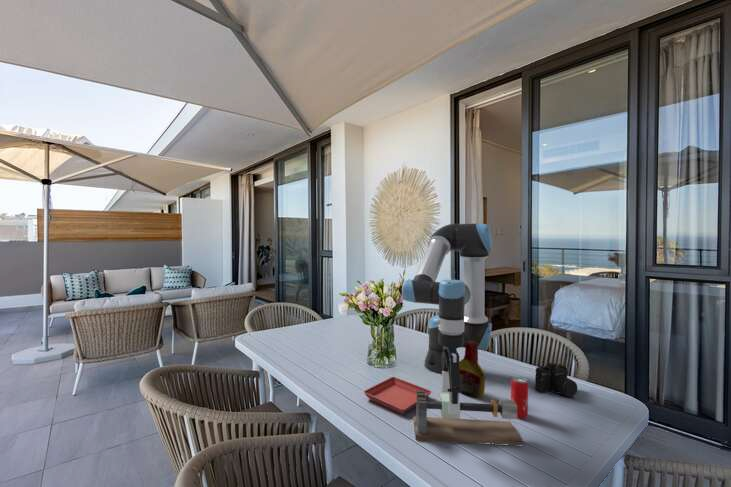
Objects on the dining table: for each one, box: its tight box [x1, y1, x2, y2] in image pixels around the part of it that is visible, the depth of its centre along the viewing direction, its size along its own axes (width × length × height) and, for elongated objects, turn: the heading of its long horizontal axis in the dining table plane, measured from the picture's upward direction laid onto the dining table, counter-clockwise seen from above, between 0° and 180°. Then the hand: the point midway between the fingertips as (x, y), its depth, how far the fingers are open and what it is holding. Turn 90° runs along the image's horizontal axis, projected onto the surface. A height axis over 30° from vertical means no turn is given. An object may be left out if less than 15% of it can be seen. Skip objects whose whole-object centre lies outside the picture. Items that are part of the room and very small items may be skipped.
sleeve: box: [439, 393, 461, 419], centre depth 102 cm, size 5×5×5 cm
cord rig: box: [413, 390, 524, 446], centre depth 101 cm, size 10×30×10 cm, turn 85°
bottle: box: [456, 341, 486, 398], centre depth 127 cm, size 12×6×20 cm, turn 37°
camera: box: [534, 362, 578, 398], centre depth 128 cm, size 14×11×10 cm
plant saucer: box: [363, 376, 432, 414], centre depth 122 cm, size 18×18×3 cm
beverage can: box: [510, 376, 529, 419], centre depth 112 cm, size 5×5×12 cm
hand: (449, 402), depth 101 cm, fingers open, 13 cm apart
